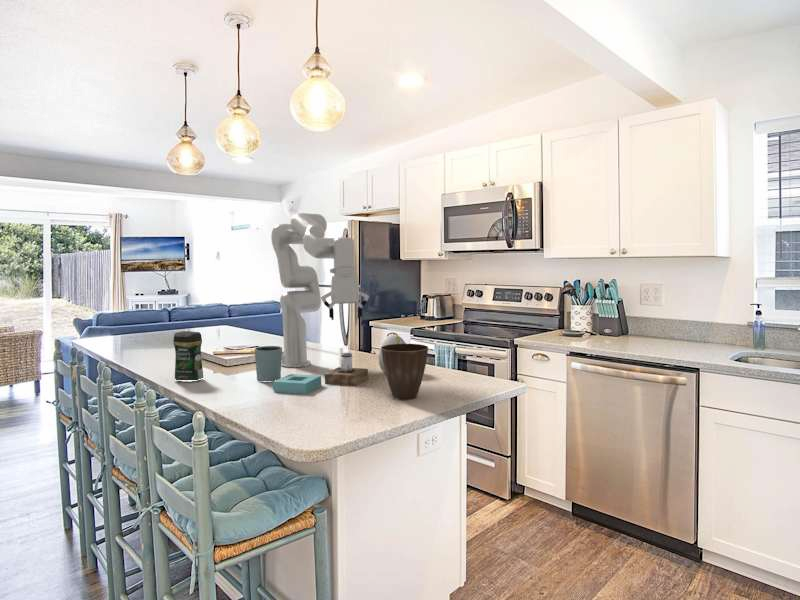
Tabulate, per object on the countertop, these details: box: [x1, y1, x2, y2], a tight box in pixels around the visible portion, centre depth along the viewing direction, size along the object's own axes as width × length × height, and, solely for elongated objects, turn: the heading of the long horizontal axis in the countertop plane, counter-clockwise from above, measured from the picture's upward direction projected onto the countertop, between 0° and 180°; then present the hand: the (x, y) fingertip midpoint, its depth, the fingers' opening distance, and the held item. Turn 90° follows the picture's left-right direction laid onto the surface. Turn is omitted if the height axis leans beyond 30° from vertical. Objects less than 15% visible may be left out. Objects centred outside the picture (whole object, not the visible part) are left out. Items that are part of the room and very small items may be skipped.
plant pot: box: [380, 343, 429, 401], centre depth 160 cm, size 15×15×16 cm
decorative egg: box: [378, 334, 407, 375], centre depth 196 cm, size 12×12×15 cm
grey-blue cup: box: [254, 345, 283, 382], centre depth 187 cm, size 10×10×12 cm
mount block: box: [324, 366, 369, 386], centre depth 184 cm, size 12×12×4 cm
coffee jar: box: [173, 330, 204, 380], centre depth 187 cm, size 10×8×19 cm
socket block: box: [272, 373, 322, 395], centre depth 173 cm, size 12×12×4 cm
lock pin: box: [340, 352, 353, 373], centre depth 184 cm, size 4×4×10 cm
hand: (345, 319), depth 183 cm, fingers open, 9 cm apart
